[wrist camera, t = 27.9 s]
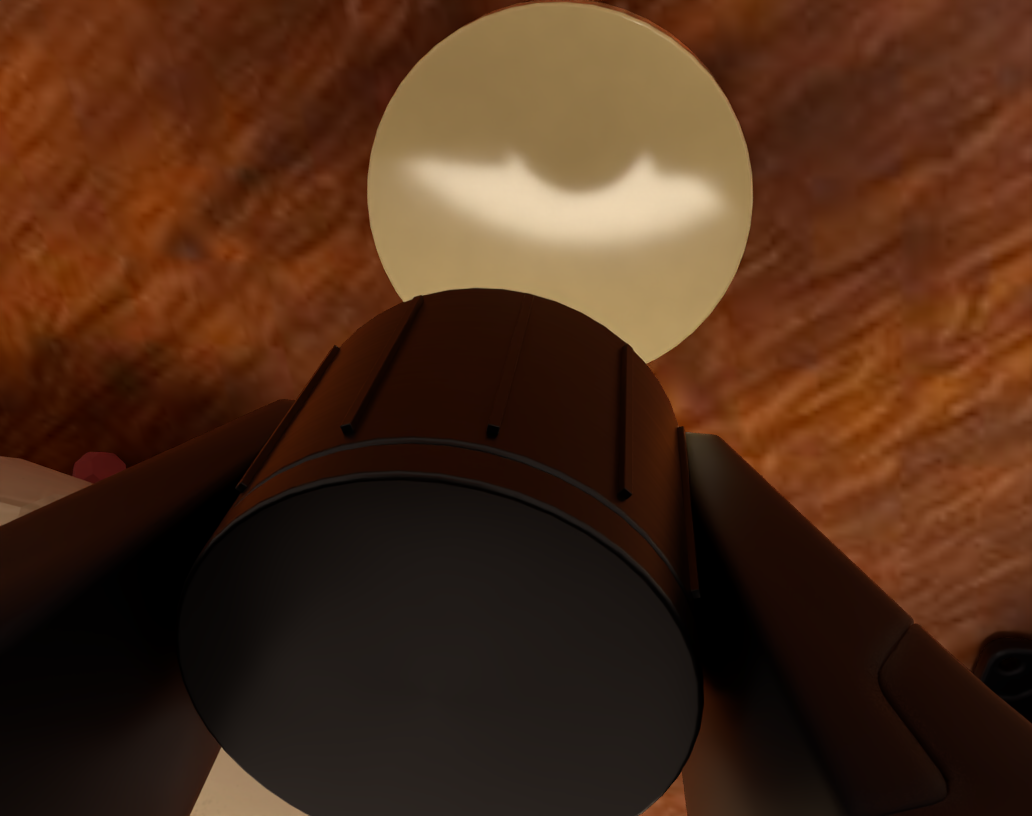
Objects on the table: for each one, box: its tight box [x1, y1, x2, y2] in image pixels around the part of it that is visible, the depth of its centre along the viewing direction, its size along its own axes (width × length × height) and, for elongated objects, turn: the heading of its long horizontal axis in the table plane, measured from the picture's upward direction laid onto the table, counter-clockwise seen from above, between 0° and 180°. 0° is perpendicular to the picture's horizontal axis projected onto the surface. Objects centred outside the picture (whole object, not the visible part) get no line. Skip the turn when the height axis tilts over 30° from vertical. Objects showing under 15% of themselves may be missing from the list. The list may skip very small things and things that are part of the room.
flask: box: [0, 452, 308, 816], centre depth 21 cm, size 9×16×18 cm
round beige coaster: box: [367, 0, 753, 364], centre depth 17 cm, size 7×7×1 cm
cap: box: [175, 288, 704, 816], centre depth 8 cm, size 4×4×3 cm
